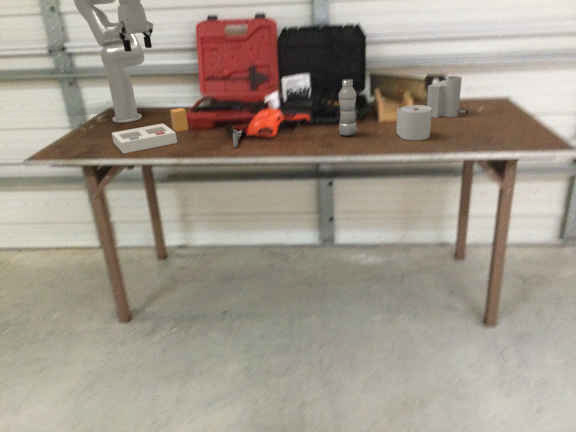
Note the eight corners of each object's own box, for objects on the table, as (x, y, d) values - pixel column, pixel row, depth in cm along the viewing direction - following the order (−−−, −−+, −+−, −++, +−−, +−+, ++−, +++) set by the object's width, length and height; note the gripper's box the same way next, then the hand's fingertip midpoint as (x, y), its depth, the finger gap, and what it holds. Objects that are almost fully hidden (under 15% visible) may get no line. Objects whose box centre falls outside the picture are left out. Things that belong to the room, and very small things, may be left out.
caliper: (236, 148, 182) (235, 131, 180) (233, 148, 182) (232, 131, 180) (246, 131, 201) (245, 116, 198) (243, 131, 201) (242, 116, 198)
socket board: (113, 142, 196) (111, 131, 194) (164, 133, 204) (162, 121, 202) (123, 153, 183) (120, 141, 181) (177, 142, 191) (175, 130, 189)
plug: (172, 129, 209) (169, 109, 205) (184, 127, 211) (181, 107, 207) (176, 132, 205) (173, 112, 201) (188, 129, 207) (185, 110, 203)
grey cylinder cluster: (441, 109, 214) (444, 73, 207) (473, 114, 205) (477, 76, 198) (426, 116, 206) (428, 78, 200) (458, 121, 197) (462, 81, 190)
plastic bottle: (358, 132, 190) (359, 78, 182) (353, 138, 185) (353, 82, 176) (342, 131, 193) (342, 77, 184) (336, 136, 187) (335, 81, 179)
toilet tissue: (429, 141, 177) (431, 112, 173) (394, 140, 180) (395, 112, 176) (429, 132, 186) (431, 104, 182) (396, 131, 189) (397, 104, 185)
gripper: (141, -1, 195) (149, 46, 202) (103, 2, 183) (113, 52, 190) (154, -2, 191) (162, 46, 198) (116, 1, 178) (126, 52, 185)
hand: (138, 49), depth 194 cm, fingers open, 9 cm apart
